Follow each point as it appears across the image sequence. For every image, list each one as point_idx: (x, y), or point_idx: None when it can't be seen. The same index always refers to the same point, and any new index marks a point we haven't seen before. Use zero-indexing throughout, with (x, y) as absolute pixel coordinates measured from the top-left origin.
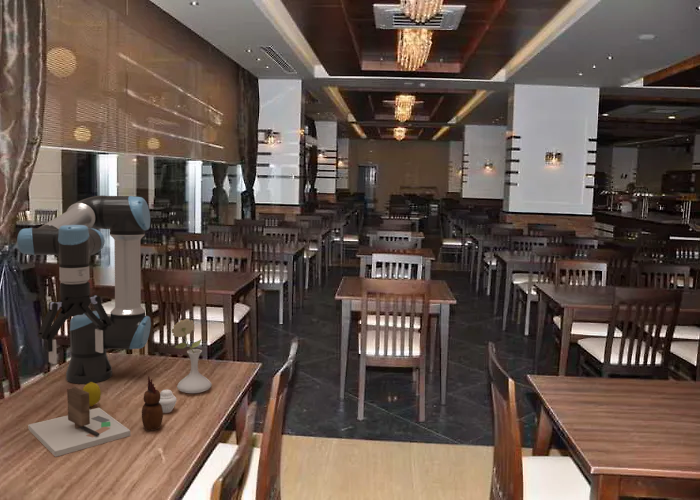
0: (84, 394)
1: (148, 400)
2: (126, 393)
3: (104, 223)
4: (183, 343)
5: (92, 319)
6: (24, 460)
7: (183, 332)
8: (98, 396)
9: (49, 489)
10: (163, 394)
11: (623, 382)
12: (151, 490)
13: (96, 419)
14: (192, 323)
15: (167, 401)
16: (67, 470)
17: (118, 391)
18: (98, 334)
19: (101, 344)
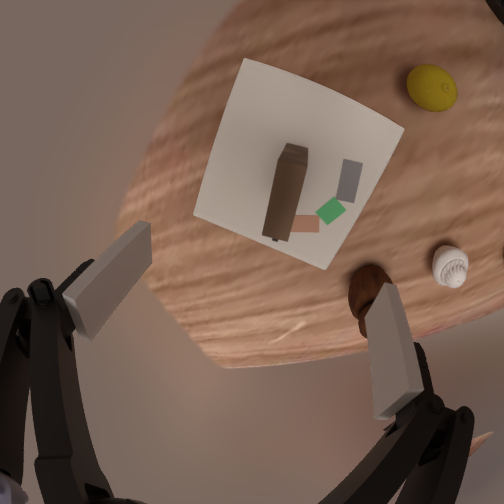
0: (273, 237)
1: (358, 323)
2: (498, 121)
3: None
4: None
5: (341, 487)
6: (162, 176)
7: None
8: (431, 111)
9: (146, 272)
10: (447, 278)
11: (474, 448)
12: (214, 354)
13: (344, 174)
14: None
15: (437, 281)
16: (183, 258)
17: (499, 97)
18: (383, 384)
19: (372, 351)
